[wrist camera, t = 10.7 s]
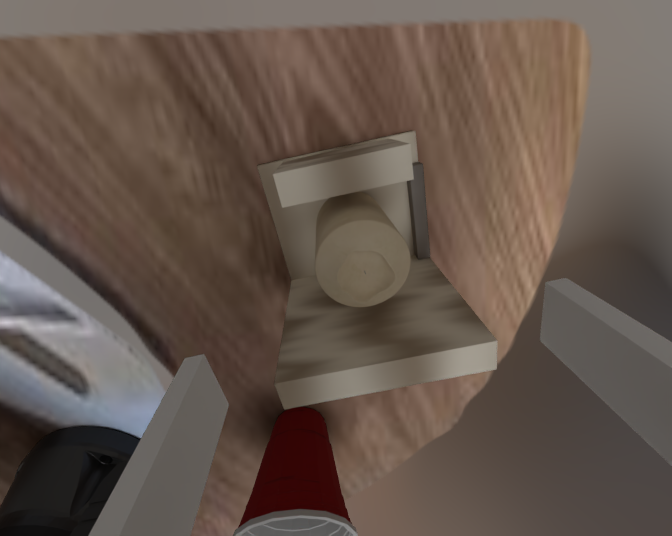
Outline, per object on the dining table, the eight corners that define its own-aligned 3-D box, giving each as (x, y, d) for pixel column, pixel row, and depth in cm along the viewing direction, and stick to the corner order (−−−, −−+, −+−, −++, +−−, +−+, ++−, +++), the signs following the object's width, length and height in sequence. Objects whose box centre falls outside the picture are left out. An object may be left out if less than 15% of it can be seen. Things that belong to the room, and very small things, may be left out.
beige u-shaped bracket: (297, 296, 29) (284, 410, 18) (258, 164, 24) (204, 205, 13) (424, 270, 29) (496, 370, 17) (412, 130, 24) (502, 140, 12)
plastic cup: (272, 462, 39) (255, 592, 29) (239, 403, 35) (204, 532, 24) (356, 444, 39) (371, 570, 28) (334, 381, 34) (342, 503, 23)
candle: (389, 194, 25) (430, 235, 16) (375, 258, 27) (403, 325, 18) (321, 184, 24) (322, 220, 15) (312, 250, 26) (308, 316, 17)
